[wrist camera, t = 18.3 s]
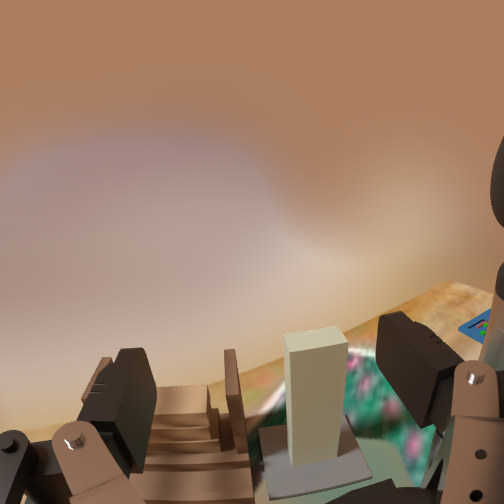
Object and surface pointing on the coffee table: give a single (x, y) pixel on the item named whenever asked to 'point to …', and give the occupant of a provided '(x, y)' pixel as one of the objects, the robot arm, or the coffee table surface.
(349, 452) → the grey mat
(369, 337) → the coffee table surface
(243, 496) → the walnut rack
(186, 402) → the oak offcut stack
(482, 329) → the handheld gaming device
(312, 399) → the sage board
